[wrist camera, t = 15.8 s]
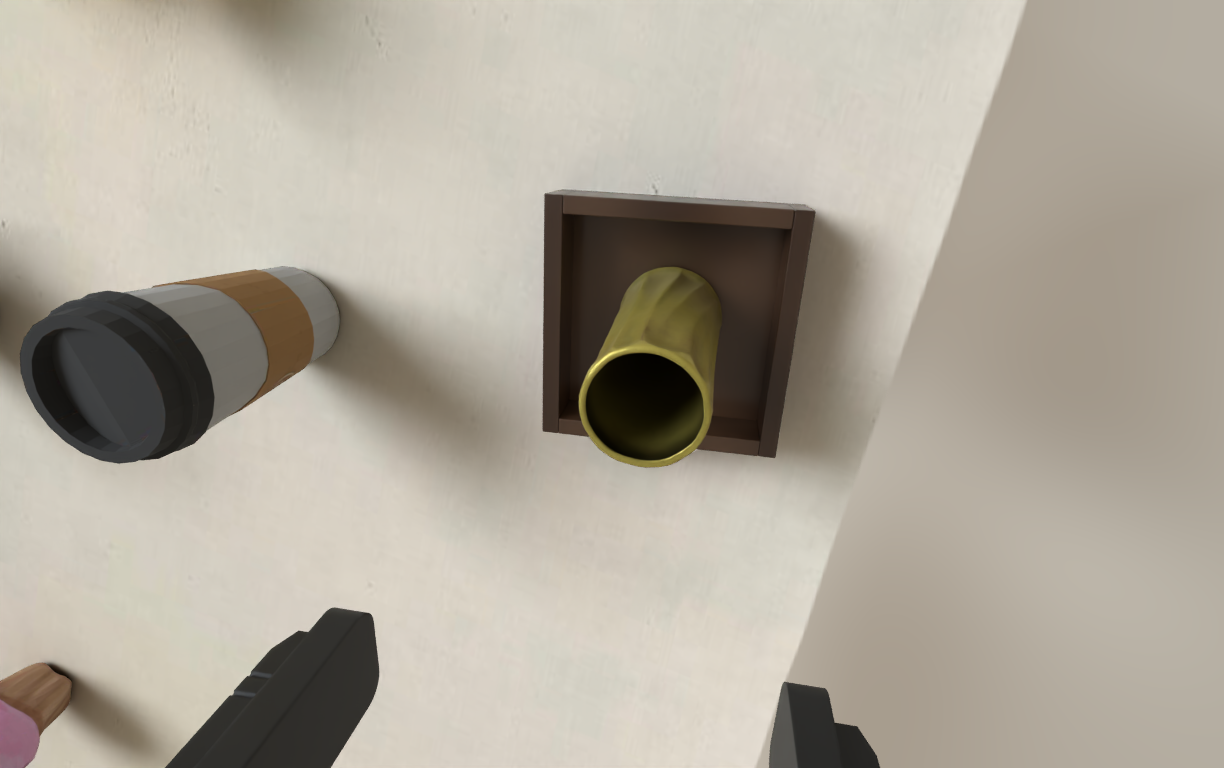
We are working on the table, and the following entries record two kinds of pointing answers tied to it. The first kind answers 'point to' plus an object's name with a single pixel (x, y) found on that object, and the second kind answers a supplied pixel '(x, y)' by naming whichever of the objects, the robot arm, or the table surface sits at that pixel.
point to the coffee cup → (172, 358)
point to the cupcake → (29, 711)
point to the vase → (655, 371)
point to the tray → (696, 241)
